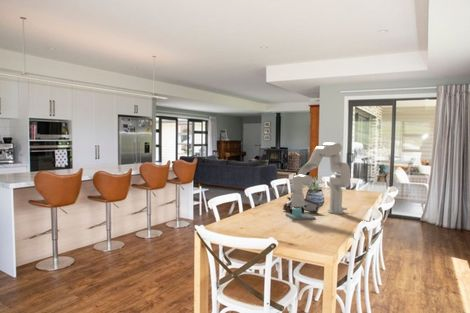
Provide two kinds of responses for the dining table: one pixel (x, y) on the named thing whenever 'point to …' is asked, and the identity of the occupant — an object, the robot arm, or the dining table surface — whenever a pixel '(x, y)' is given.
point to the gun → (310, 206)
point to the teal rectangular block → (296, 212)
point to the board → (301, 217)
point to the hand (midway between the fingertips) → (296, 213)
